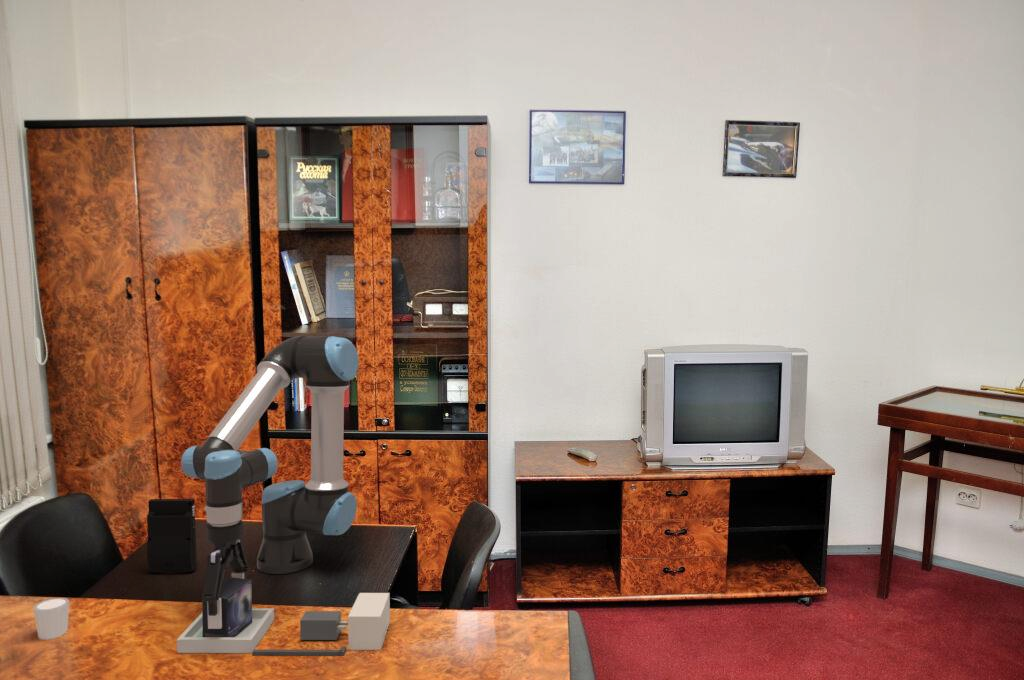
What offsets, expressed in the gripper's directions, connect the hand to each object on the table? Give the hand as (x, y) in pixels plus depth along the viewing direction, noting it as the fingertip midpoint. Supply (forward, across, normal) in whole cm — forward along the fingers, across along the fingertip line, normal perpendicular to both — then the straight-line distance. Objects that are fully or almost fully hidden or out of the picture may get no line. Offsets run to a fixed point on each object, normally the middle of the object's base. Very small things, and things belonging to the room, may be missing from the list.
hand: (227, 613), depth 164 cm
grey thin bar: (+5, +8, +18) cm, 20 cm away
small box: (+4, 0, 0) cm, 4 cm away
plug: (+5, 0, +21) cm, 22 cm away
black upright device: (+5, -36, -29) cm, 47 cm away
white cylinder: (+5, -1, -40) cm, 40 cm away
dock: (+5, 0, 0) cm, 5 cm away
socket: (+5, 0, +31) cm, 31 cm away
